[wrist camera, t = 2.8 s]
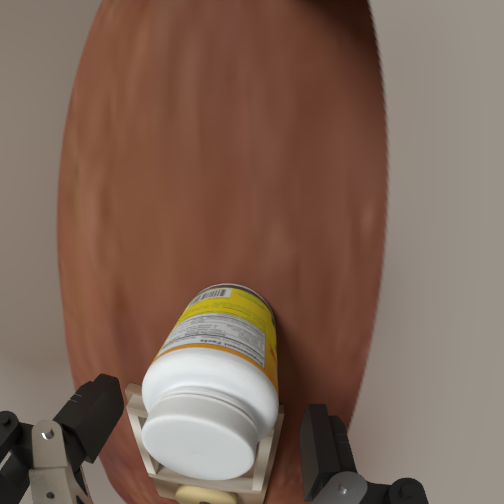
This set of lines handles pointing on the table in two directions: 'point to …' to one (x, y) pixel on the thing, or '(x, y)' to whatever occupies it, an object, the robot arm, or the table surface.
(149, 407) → the supplement bottle
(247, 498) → the board
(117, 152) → the table surface
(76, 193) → the table surface
